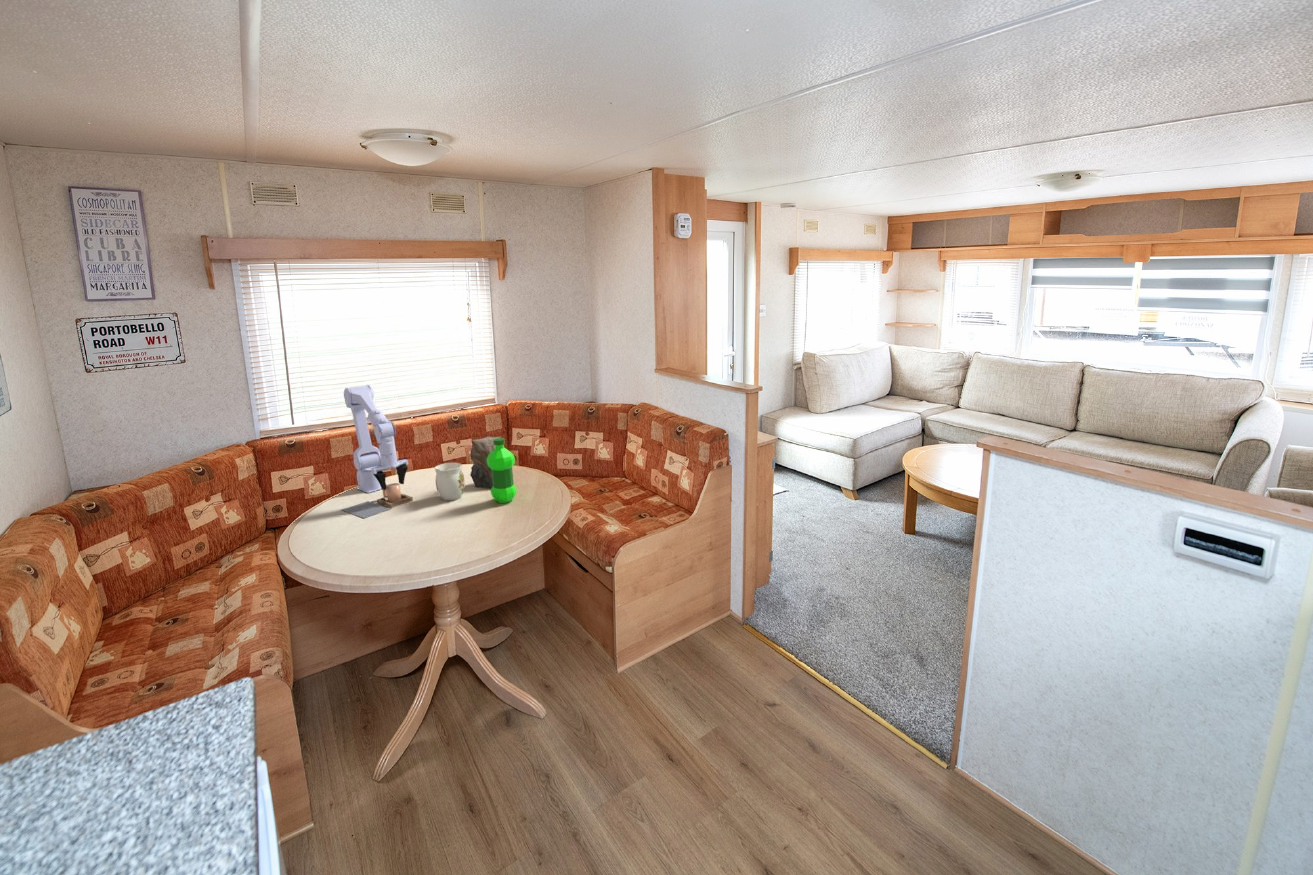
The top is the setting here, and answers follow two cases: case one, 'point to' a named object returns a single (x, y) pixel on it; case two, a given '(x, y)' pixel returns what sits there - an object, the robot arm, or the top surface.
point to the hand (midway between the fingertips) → (392, 486)
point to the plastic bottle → (502, 472)
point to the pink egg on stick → (392, 492)
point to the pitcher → (450, 480)
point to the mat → (365, 509)
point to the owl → (482, 462)
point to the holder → (404, 500)
